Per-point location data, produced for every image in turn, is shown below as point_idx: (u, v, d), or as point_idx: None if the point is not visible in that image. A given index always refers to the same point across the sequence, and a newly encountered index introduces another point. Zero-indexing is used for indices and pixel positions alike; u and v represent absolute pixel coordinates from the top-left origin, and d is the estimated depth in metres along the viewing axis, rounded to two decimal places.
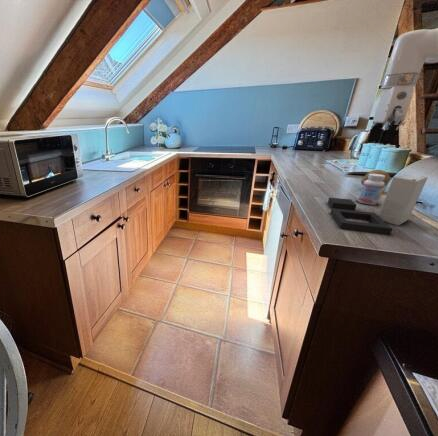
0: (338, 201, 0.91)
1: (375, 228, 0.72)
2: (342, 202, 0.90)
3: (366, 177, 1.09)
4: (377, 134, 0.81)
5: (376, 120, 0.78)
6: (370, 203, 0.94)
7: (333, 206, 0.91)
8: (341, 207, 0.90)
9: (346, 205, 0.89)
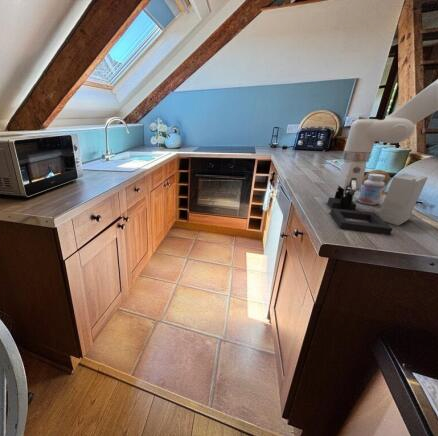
0: (338, 201, 0.91)
1: (375, 228, 0.72)
2: None
3: (366, 177, 1.09)
4: (341, 196, 0.94)
5: (339, 184, 0.91)
6: (370, 203, 0.94)
7: (333, 206, 0.91)
8: None
9: None
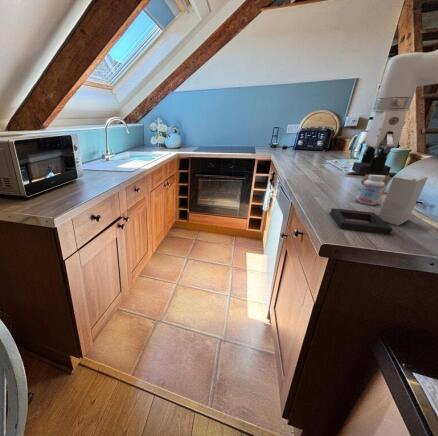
0: (367, 164, 0.74)
1: (375, 228, 0.72)
2: None
3: (366, 177, 1.09)
4: (370, 160, 0.77)
5: (368, 143, 0.74)
6: (370, 203, 0.94)
7: (361, 170, 0.73)
8: (371, 171, 0.72)
9: None
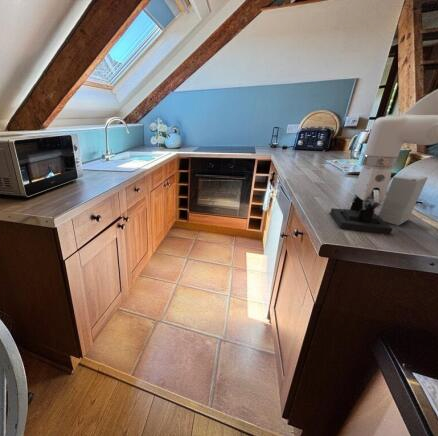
0: (355, 214, 0.77)
1: (375, 228, 0.72)
2: None
3: None
4: (359, 207, 0.80)
5: (356, 194, 0.77)
6: None
7: (350, 220, 0.77)
8: None
9: None
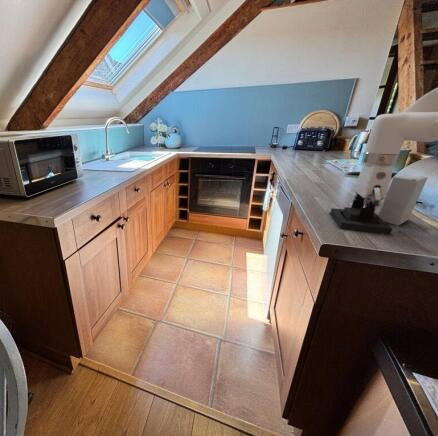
0: (356, 212, 0.77)
1: (375, 228, 0.72)
2: None
3: None
4: (360, 206, 0.80)
5: (357, 192, 0.77)
6: None
7: (351, 218, 0.76)
8: None
9: None
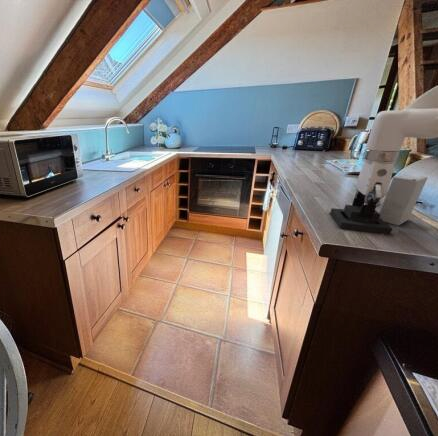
0: (357, 209, 0.77)
1: (375, 228, 0.72)
2: None
3: None
4: (361, 203, 0.80)
5: (358, 189, 0.77)
6: None
7: (351, 216, 0.76)
8: (361, 217, 0.75)
9: None
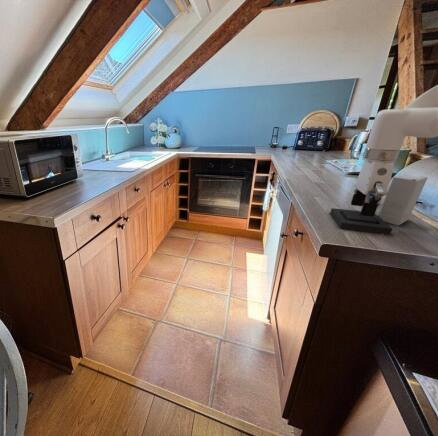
0: (354, 216, 0.78)
1: (375, 228, 0.72)
2: (359, 217, 0.77)
3: None
4: (360, 199, 0.80)
5: (358, 188, 0.77)
6: None
7: None
8: None
9: (364, 221, 0.75)
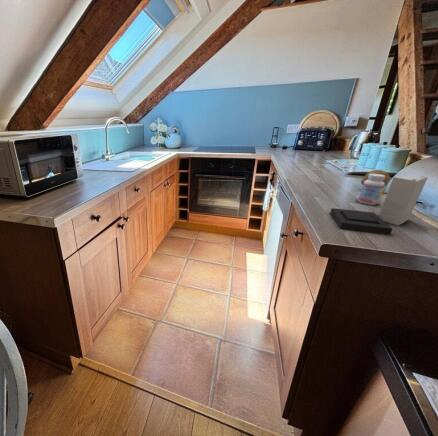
0: (354, 216, 0.78)
1: (375, 228, 0.72)
2: (359, 217, 0.77)
3: (366, 177, 1.09)
4: None
5: None
6: (370, 203, 0.94)
7: None
8: None
9: (364, 221, 0.75)
